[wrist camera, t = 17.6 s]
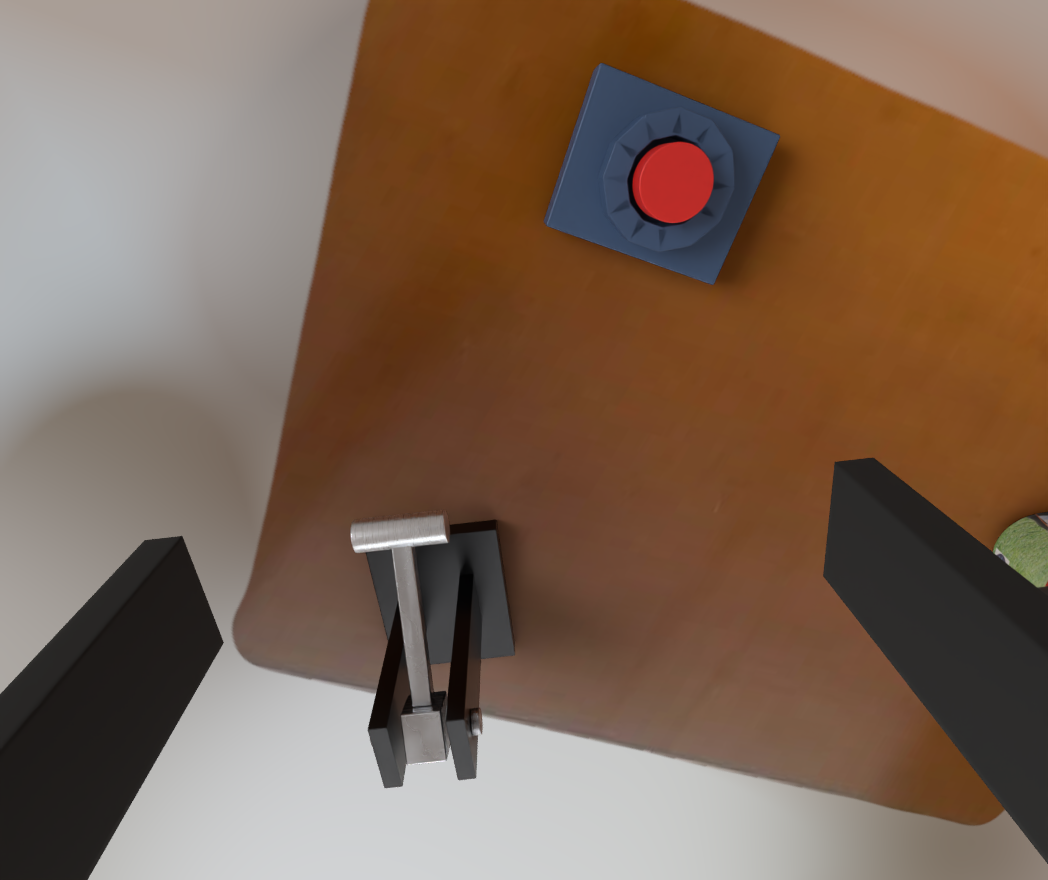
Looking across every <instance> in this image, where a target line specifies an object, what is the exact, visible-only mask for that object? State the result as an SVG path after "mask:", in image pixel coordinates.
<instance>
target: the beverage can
mask: <svg viewBox="0 0 1048 880" xmlns="http://www.w3.org/2000/svg"><path fill="white" fill-rule="evenodd" d="M993 553H994V554H996V555H997V556H998V557H999V558H1001V559H1002V560H1003V561H1004V562H1006V563H1007V564H1008V565H1009V566H1011V567H1012V568H1013V569H1015V570H1016V571H1017V572H1018V573H1020V574H1021V575H1022V576H1023V577H1025V578H1026V579H1027V580H1028V581H1030V582H1031V583H1032V584H1033V585H1035V586H1036V587H1045V586H1048V512H1044V513H1037V514H1034V515H1030V516H1027V517H1025V518H1022V519H1020V520H1019V521H1017V522H1015V523H1013V524H1012V525H1011V526H1009V527H1008V528H1007V529H1006V530H1005V531H1004V532H1003V533H1002V534H1001V535H1000V537H999V538H998V540H997V541H996V543H995V546H994V549H993Z"/></svg>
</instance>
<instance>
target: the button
mask: <svg viewBox="0 0 1048 880" xmlns="http://www.w3.org/2000/svg"><path fill="white" fill-rule="evenodd" d="M713 183H714V174H713V168H712V165H711V162H710V160H709V158H708V157H707V155H706V154H705V153H704V152H703V151H702V150H701V149H700V148H698V147H697V146H695V145H693V144H690V143H686V142H672V143H665V144H661V145H658V146H656V147H654V148H652V149H651V150H650V151H648V152H647V153H646V154H645V155H644V156H643V157H642V159H641V160H640V161H639V163H638V165H637V167H636V169H635V172H634V176H633V183H632V187H633V195H634V198H635V200H636V203H637V204H638V206H639V208H640V209H641V210H642V211H643V212H644V213H645V214H647V215H648V216H650V217H652V218H654V219H657V220H660V221H663V222H667V223H678V222H683V221H686V220H688V219H690V218H692V217H694V216H695V215H696V214H698V213H699V212H700V211H701V210H702V208H703V207H704V206H705V205H706V203H707V202H708V200H709V198H710V195H711V192H712V189H713Z"/></svg>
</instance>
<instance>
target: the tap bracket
mask: <svg viewBox="0 0 1048 880" xmlns="http://www.w3.org/2000/svg"><path fill="white" fill-rule="evenodd" d="M449 526H450V540H449V542H448V543H443V544H434V545H425V546H416V547H415V550H416V557H417V565H418V573H419V581H420V588H421V596H422V604H423V611H424V619H425V627H426V635H427V642H428V650H429V658H430V665H431V664H440V663H449V662H451V667H450V677H449V687H448V698H447V708H446V718H445V723H446V727H447V732H448V737H449V741H450V746H451V750H452V754H453V759H454V764H455V768H456V773H457V777H458V780H465V779H474V778H476V768H477V742H478V735H482V714H481V709H480V708H479V692H480V666H481V659H485V658H494V657H504V656H513V655H515V642H514V635H513V628H512V622H511V615H510V608H509V601H508V595H507V588H506V581H505V574H504V568H503V561H502V554H501V547H500V541H499V534H498V527H497V521H496V520H490V521H481V522H472V523H463V524H454V525H449ZM366 555H367V559H368V563H369V567H370V571H371V575H372V579H373V583H374V587H375V591H376V595H377V599H378V603H379V607H380V611H381V615H382V619H383V623H384V627H385V631H386V635H387V639H388V645H387V649H386V653H385V658H384V662H383V666H382V671H381V675H380V679H379V684H378V688H377V692H376V696H375V701H374V705H373V710H372V714H371V718H370V722H369V727H368V732H369V736H370V741H371V745H372V746H373V749H374V753H375V757H376V760H377V764H378V767H379V770H380V774H381V777H382V780H383V784H384V787H385V788H391V787H401V786H403V780H404V774H405V767H406V757H405V750H404V742H403V735H402V727H401V720H400V715H401V712H402V710H403V707H404V705H405V702H406V700H407V697H408V695H411V693H410V685H409V677H408V670H407V662H406V655H405V647H404V640H403V632H402V624H401V617H400V609H399V602H398V594H397V587H396V579H395V571H394V564H393V556H392V549H390V550H381V551H372V552H366Z"/></svg>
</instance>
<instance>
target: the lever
mask: <svg viewBox="0 0 1048 880" xmlns="http://www.w3.org/2000/svg"><path fill="white" fill-rule="evenodd" d="M449 540H450V526H449V518H448V514H447V511H446V510H435V511H426V512H418V513H409V514H400V515H391V516H382V517H373V518H365V519H356V520H353V522H352V525H351V542H352V546H353V549H354V551H355V552H356V553H363V552H372V551H381V550H390V549H392V556H393V564H394V571H395V579H396V587H397V594H398V602H399V609H400V617H401V624H402V632H403V640H404V647H405V655H406V662H407V670H408V677H409V685H410V693H411V695H408V697H407V700H406V702H405V705H404V707H403V710H402V712H401V715H400V720H401V727H402V735H403V742H404V750H405V757H406V764H407V765H413V764H423V763H432V762H441V761H446V760H447V757H448V752H449V748H450V741H449V737H448V732H447V727H446V723H445V718H446V708H447V694H446V691H440V692H434V689H433V681H432V673H431V666H430V658H429V650H428V642H427V635H426V627H425V619H424V611H423V604H422V596H421V588H420V581H419V573H418V565H417V557H416V550H415V547H416V546H425V545H434V544H443V543H448V542H449Z"/></svg>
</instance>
